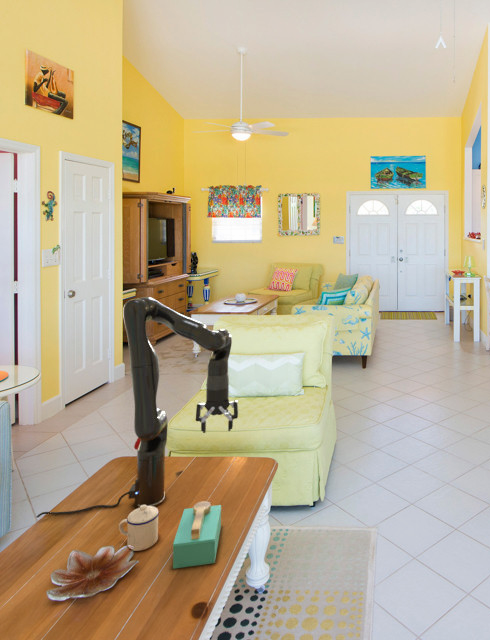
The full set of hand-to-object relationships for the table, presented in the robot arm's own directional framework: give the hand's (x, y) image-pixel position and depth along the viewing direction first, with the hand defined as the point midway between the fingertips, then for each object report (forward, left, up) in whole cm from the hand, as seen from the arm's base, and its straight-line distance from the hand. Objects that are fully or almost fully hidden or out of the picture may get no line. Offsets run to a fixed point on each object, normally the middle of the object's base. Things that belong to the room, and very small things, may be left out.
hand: (217, 431), depth 166 cm
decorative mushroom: (-32, +38, -28) cm, 57 cm away
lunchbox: (-3, -20, -28) cm, 35 cm away
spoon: (-3, -20, -20) cm, 29 cm away
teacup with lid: (-22, -14, -28) cm, 38 cm away
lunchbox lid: (-3, -20, -21) cm, 30 cm away
